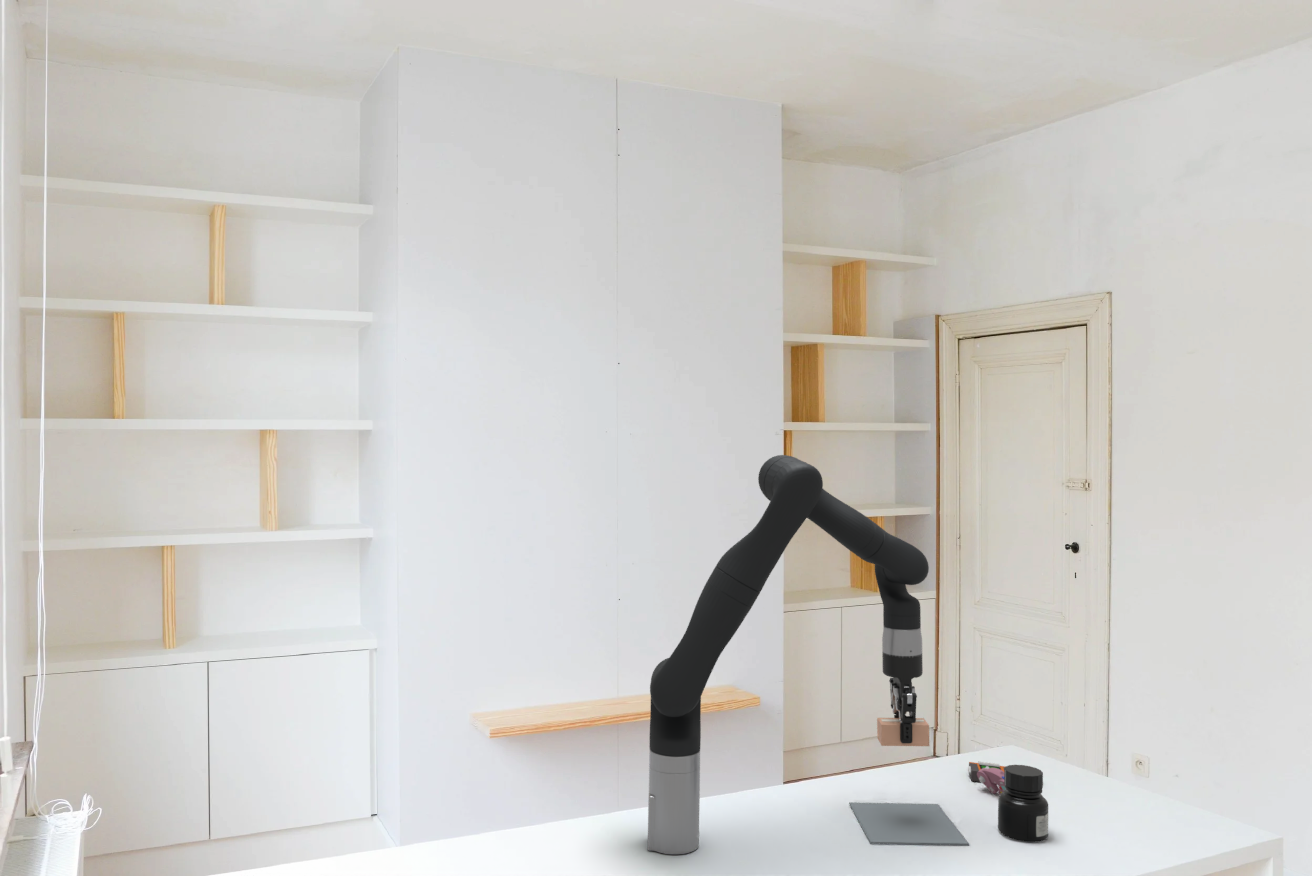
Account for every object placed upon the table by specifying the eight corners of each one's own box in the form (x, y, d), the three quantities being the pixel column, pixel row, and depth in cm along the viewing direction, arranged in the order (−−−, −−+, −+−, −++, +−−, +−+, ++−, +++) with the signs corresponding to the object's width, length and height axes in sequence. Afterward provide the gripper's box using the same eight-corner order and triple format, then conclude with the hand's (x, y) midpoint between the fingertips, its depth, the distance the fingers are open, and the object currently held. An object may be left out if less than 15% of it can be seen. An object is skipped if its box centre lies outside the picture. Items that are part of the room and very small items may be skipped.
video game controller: (980, 795, 208) (970, 768, 207) (995, 783, 210) (984, 756, 208) (1016, 811, 199) (1005, 783, 198) (1031, 798, 201) (1020, 770, 200)
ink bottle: (1052, 846, 177) (1053, 780, 178) (1002, 842, 179) (1002, 776, 179) (1042, 826, 187) (1043, 764, 187) (994, 822, 189) (995, 760, 189)
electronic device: (1043, 778, 209) (970, 768, 212) (1042, 791, 209) (969, 782, 212) (1038, 768, 215) (967, 759, 219) (1037, 781, 215) (966, 772, 219)
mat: (870, 844, 177) (870, 841, 177) (849, 804, 197) (849, 802, 197) (969, 845, 177) (969, 843, 177) (937, 805, 197) (937, 803, 197)
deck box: (929, 746, 185) (929, 724, 185) (881, 745, 186) (881, 723, 186) (923, 738, 190) (923, 717, 190) (877, 738, 191) (877, 716, 191)
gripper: (930, 658, 181) (931, 750, 181) (913, 643, 195) (914, 728, 195) (889, 658, 181) (890, 749, 181) (876, 642, 195) (877, 727, 195)
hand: (903, 738), depth 188 cm, fingers closed on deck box, 5 cm apart
